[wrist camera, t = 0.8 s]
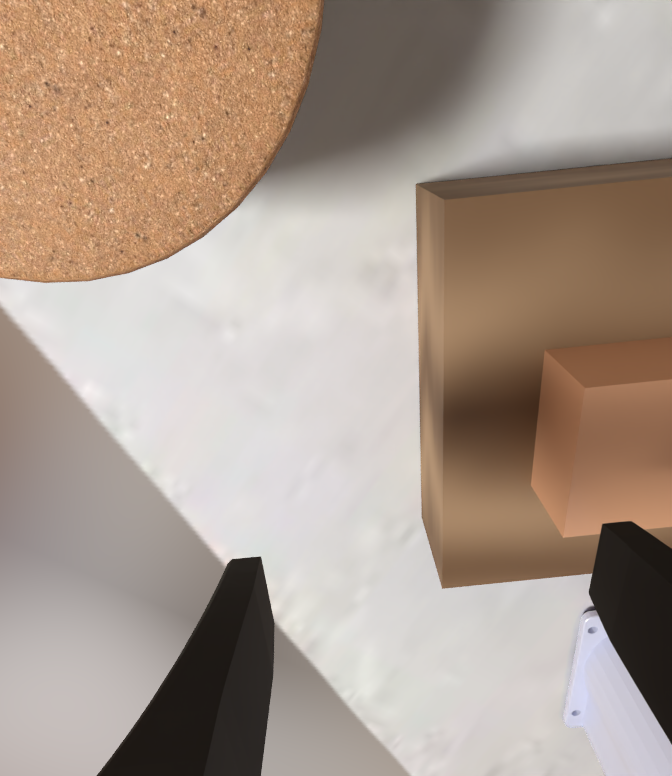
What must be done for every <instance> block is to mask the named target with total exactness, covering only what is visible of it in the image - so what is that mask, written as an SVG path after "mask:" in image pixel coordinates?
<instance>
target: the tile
mask: <svg viewBox="0 0 672 776" xmlns="http://www.w3.org/2000/svg"><path fill="white" fill-rule="evenodd" d="M531 486H532V488H533V490H534V491H535V493H536V495H537V496H538V498H539V499H540V501H541V503H542V504H543V506H544V508H545V509H546V511H547V512H548V514H549V516H550V517H551V519H552V521H553V522H554V524H555V525H556V527H557V529H558V530H559V532H560V533H561V535H562V537H563V538H565V537H575V536H585V535H595V534H600V533H601V528H602V524H604V523H614V522H625V521H632V522H634V523H635V524H637V525H638V526H640V527H641V528H643V529H654V528H664V527H672V337H667V338H657V339H647V340H637V341H627V342H617V343H608V344H598V345H588V346H578V347H568V348H558V349H548V350H545V352H544V362H543V371H542V381H541V391H540V401H539V411H538V420H537V430H536V440H535V450H534V460H533V469H532V479H531Z"/></svg>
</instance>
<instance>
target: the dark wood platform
mask: <svg viewBox="0 0 672 776" xmlns="http://www.w3.org/2000/svg"><path fill="white" fill-rule="evenodd" d="M416 222H417V277H418V332H419V387H420V442H421V497H422V519H423V523H424V526H425V530H426V533H427V537H428V540H429V544H430V547H431V551H432V554H433V558H434V561H435V565H436V568H437V572H438V575H439V579H440V582H441V585H442V589H443V588H453V587H462V586H472V585H482V584H492V583H502V582H512V581H522V580H531V579H541V578H551V577H561V576H571V575H581V574H591V573H593V568H594V563H595V558H596V553H597V548H598V543H599V538H600V534H595V535H585V536H575V537H565V538H563V537H562V535H561V533H560V532H559V530H558V529H557V527H556V525H555V524H554V522H553V521H552V519H551V517H550V516H549V514H548V512H547V511H546V509H545V508H544V506H543V504H542V503H541V501H540V499H539V498H538V496H537V495H536V493H535V491H534V490H533V488H532V486H531V479H532V469H533V460H534V450H535V440H536V430H537V420H538V411H539V401H540V391H541V381H542V371H543V362H544V352H545V350H548V349H558V348H568V347H578V346H588V345H598V344H608V343H617V342H627V341H637V340H647V339H657V338H667V337H672V158H670V159H660V160H650V161H640V162H630V163H620V164H610V165H600V166H591V167H581V168H571V169H561V170H551V171H541V172H531V173H521V174H511V175H501V176H492V177H482V178H472V179H462V180H452V181H442V182H432V183H422V184H416ZM644 530H646V531H647V532H649V533H650V534H651V535H653V536H654V537H656V538H657V539H659V540H660V541H661V542H663V543H664V544H666V545H667V546H669V547H670V548H671V549H672V527H664V528H654V529H644Z"/></svg>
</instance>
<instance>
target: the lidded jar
mask: <svg viewBox="0 0 672 776" xmlns="http://www.w3.org/2000/svg"><path fill="white" fill-rule="evenodd" d="M323 8H324V0H0V278H7V279H16V280H25V281H34V282H43V283H50V282H77V281H91V280H96V279H101V278H106V277H111V276H116V275H121V274H126V273H130V272H133V271H135V270H138V269H141V268H143V267H146V266H148V265H151V264H154V263H156V262H159V261H162V260H164V259H167V258H169V257H170V256H172V255H174V254H175V253H177V252H179V251H180V250H182V249H184V248H185V247H187V246H189V245H191V244H192V243H194V242H196V241H197V240H199V239H201V238H202V237H204V236H205V235H206V234H207V233H208V232H209V231H211V230H212V229H213V228H214V227H215V226H216V225H218V224H219V223H220V222H221V221H222V220H223V219H225V218H226V217H227V216H228V215H229V214H230V213H232V212H233V211H234V210H235V209H236V208H237V207H238V206H239V205H240V204H241V203H242V201H243V200H244V199H245V198H246V196H247V195H248V194H249V193H250V192H251V190H252V189H253V188H254V187H255V186H256V184H257V183H258V182H259V181H260V179H261V178H262V177H263V176H264V175H265V173H266V172H267V170H268V169H269V167H270V165H271V163H272V162H273V160H274V158H275V157H276V155H277V153H278V151H279V150H280V148H281V146H282V145H283V143H284V141H285V139H286V138H287V136H288V134H289V133H290V130H291V128H292V125H293V123H294V120H295V118H296V115H297V113H298V110H299V107H300V105H301V102H302V100H303V97H304V95H305V92H306V90H307V87H308V84H309V80H310V76H311V71H312V67H313V63H314V59H315V54H316V50H317V46H318V42H319V37H320V33H321V29H322V19H323Z"/></svg>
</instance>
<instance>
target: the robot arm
mask: <svg viewBox="0 0 672 776" xmlns="http://www.w3.org/2000/svg"><path fill="white" fill-rule="evenodd" d="M589 595H590V597H591V600H592V602H593V604H594V606H595V609H596V610H593V611H588V612H586V613H585V614H583V616H582V618H581V622H580V627H579V633H578V638H577V644H576V649H575V654H574V660H573V665H572V671H571V676H570V682H569V687H568V692H567V698H566V703H565V709H564V714H563V721H564V723H565V725H566V726H567V727H569V728H578V727H583V728H584V730H585V732H586V734H587V737H588V739H589V741H590V743H591V745H592V748H593V750H594V752H595V754H596V756H597V759H598V761H599V763H600V765H601V767H602V770H603V772H604V774H605V776H672V549H671V548H670V547H669V546H667V545H666V544H664V543H663V542H661V541H660V540H659V539H657V538H656V537H654V536H653V535H651V534H650V533H649V532H647V531H646V530H644V529H643V528H641V527H640V526H638V525H637V524H635V523H634V522H632V521H625V522H614V523H604V524H602V528H601V533H600V538H599V543H598V548H597V553H596V558H595V563H594V568H593V573H592V578H591V584H590V589H589ZM273 663H274V619H273V614H272V609H271V604H270V599H269V594H268V589H267V584H266V580H265V575H264V570H263V565H262V560H261V557H251V558H241V559H232V560H231V561H230V562H229V563H228V564H227V566H226V569H225V571H224V573H223V575H222V578H221V579H220V582H219V584H218V586H217V588H216V590H215V592H214V594H213V596H212V598H211V600H210V602H209V604H208V605H207V608H206V609H205V612H204V613H203V615H202V617H201V619H200V621H199V622H198V624H197V626H196V628H195V630H194V631H193V633H192V635H191V637H190V638H189V640H188V642H187V643H186V645H185V647H184V649H183V651H182V653H181V654H180V656H179V657H178V659H177V661H176V662H175V664H174V665H173V667H172V669H171V670H170V672H169V673H168V675H167V677H166V678H165V680H164V681H163V683H162V684H161V686H160V688H159V689H158V691H157V692H156V694H155V695H154V697H153V699H152V700H151V702H150V703H149V705H148V706H147V708H146V709H145V711H144V712H143V713H142V715H141V716H140V718H139V720H138V721H137V722H136V724H135V725H134V727H133V728H132V729H131V731H130V732H129V734H128V735H127V736H126V738H125V739H124V740H123V742H122V743H121V744H120V746H119V747H118V749H117V750H116V751H115V753H114V754H113V755H112V757H111V758H110V759H109V761H108V762H107V763H106V765H105V766H104V767H103V768H102V770H101V771H100V772H99V773H98V775H97V776H261V769H262V761H263V753H264V744H265V736H266V729H267V720H268V713H269V704H270V697H271V688H272V680H273Z"/></svg>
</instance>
